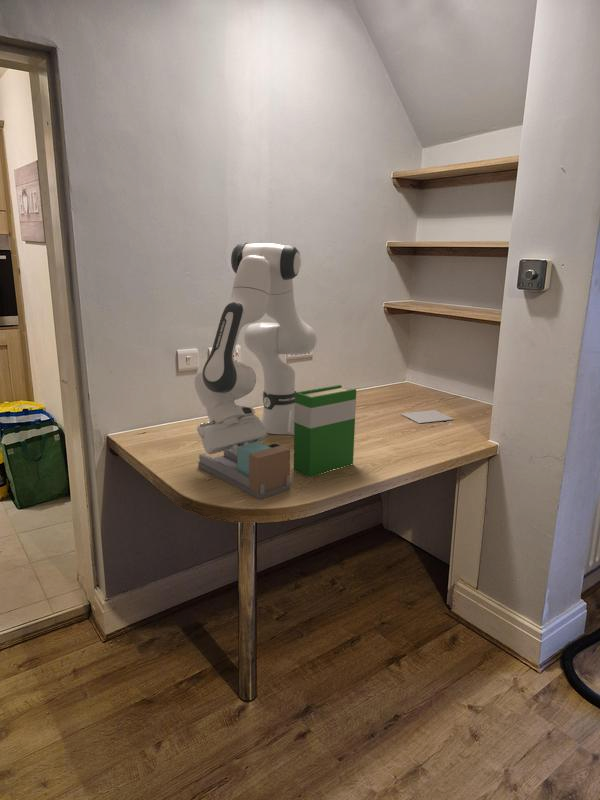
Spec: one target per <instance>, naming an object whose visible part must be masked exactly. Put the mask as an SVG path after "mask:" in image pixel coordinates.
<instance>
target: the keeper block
mask: <svg viewBox="0 0 600 800" xmlns="http://www.w3.org/2000/svg"><path fill="white" fill-rule="evenodd" d="M269 448H271V447H269V445H266V444H264V443H261V442H255V443H251V444H247V445H243V446H239V447H237V463H238V471H239V472H241V473H243V474H245V475H247V476H249V454H251V453H255V452H258V451H262V450H266V449H269Z"/></svg>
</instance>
